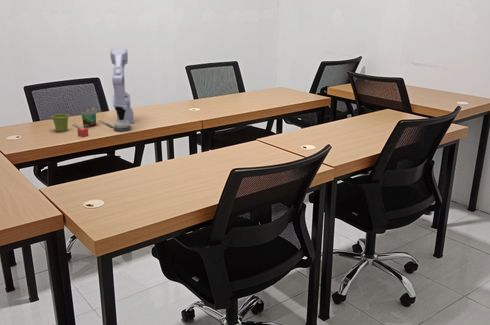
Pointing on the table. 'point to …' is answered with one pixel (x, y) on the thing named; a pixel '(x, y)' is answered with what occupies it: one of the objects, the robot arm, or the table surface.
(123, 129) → the dark grey disc
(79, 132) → the red die
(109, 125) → the game lane
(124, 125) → the dome
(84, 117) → the food container
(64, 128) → the plant pot
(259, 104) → the table surface
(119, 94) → the robot arm
